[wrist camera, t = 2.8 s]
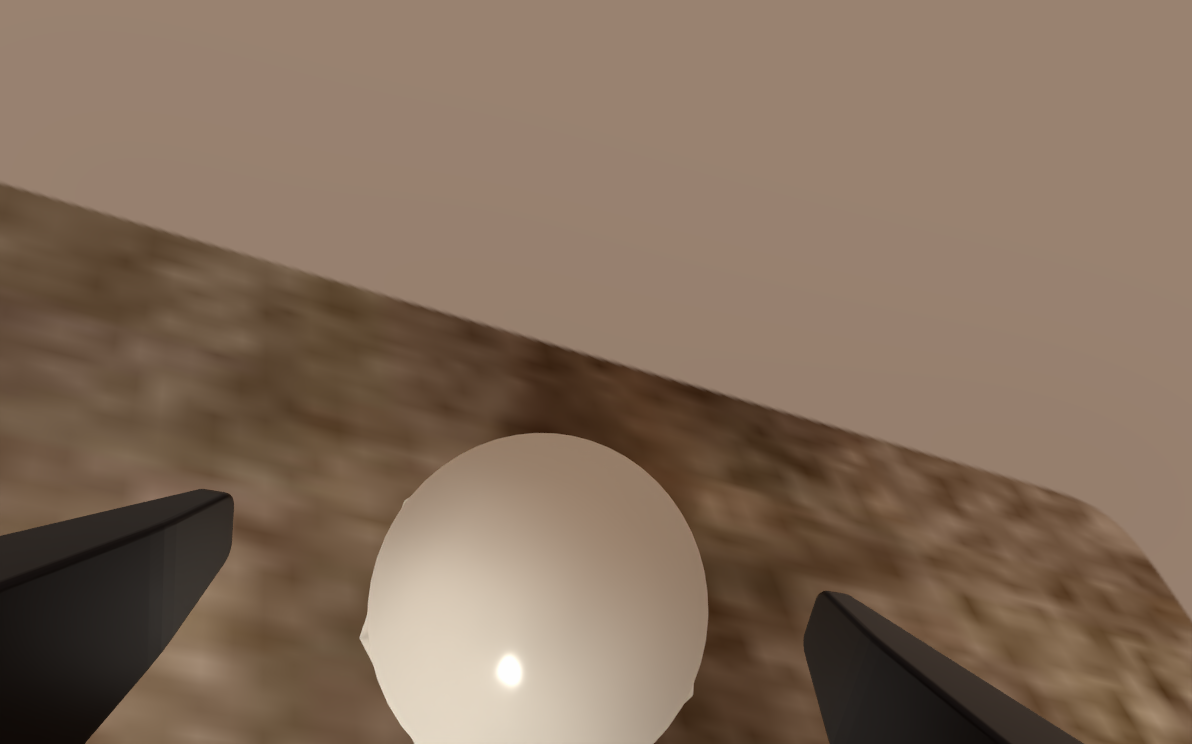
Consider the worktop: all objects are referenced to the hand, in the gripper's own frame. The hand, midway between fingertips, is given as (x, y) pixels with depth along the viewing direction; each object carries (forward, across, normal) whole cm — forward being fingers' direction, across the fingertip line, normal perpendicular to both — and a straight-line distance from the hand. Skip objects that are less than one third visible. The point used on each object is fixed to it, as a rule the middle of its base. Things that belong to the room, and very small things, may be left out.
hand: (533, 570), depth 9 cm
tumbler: (+10, 0, +9) cm, 14 cm away
